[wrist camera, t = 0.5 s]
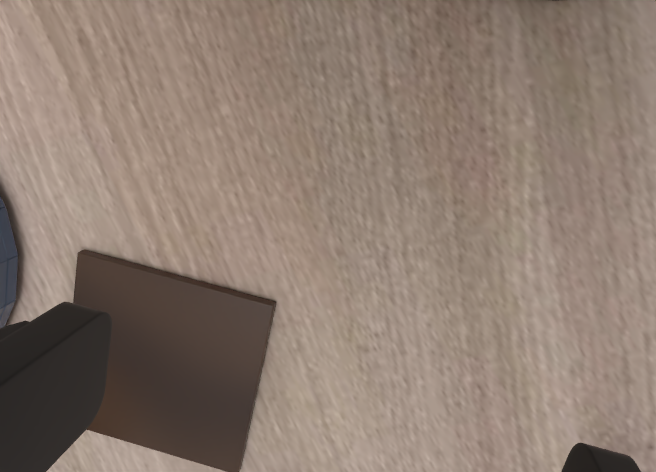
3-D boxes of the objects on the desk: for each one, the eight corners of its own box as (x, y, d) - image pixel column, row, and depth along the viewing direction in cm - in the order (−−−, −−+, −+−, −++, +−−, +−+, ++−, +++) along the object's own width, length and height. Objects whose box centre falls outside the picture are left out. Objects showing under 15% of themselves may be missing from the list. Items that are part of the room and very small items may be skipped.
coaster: (83, 249, 29) (77, 252, 29) (276, 301, 29) (273, 306, 28) (68, 416, 33) (62, 422, 32) (240, 468, 32) (237, 475, 31)
